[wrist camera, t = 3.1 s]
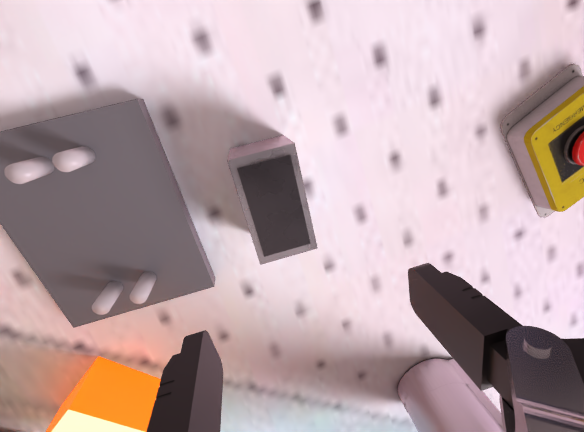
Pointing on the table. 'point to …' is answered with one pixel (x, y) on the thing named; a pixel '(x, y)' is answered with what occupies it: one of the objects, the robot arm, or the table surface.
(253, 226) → the grey boxy piece
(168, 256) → the pin tray
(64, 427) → the orange juice
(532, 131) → the emergency button
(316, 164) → the table surface
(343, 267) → the table surface
